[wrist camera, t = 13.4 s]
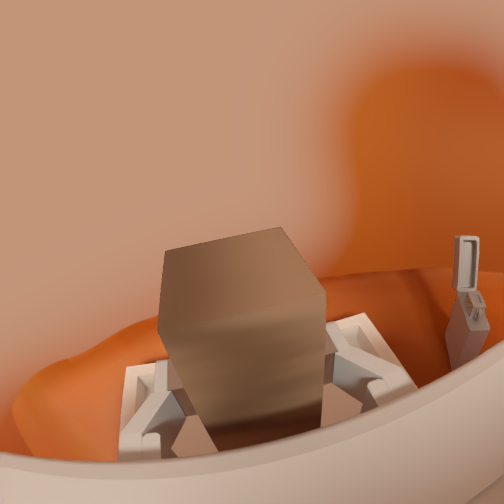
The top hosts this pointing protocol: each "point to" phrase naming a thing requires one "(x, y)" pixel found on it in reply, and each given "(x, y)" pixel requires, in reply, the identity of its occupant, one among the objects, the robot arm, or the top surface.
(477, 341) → the lighter
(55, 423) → the top surface
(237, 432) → the walnut block
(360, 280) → the top surface
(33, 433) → the top surface
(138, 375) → the tray
